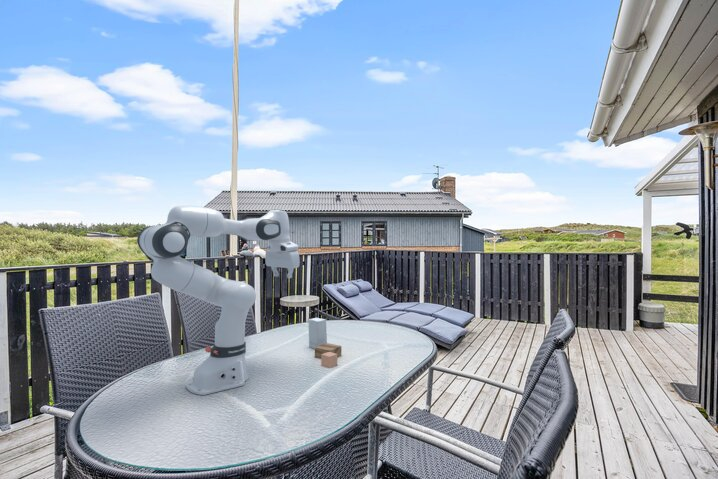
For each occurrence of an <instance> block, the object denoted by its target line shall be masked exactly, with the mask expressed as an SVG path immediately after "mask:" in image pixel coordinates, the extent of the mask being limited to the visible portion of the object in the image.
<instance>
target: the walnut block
mask: <svg viewBox="0 0 718 479" xmlns="http://www.w3.org/2000/svg"><path fill="white" fill-rule="evenodd" d="M327 352H332V353H335V354H337V359H338V358H340V357H342V345H339V344H333V343H328V342H327V343H325V344H322V345H320V346H317V347H315V349H314V358H315V359H319V360H321V354H324V353H327Z"/></svg>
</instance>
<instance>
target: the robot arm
mask: <svg viewBox="0 0 718 479" xmlns="http://www.w3.org/2000/svg"><path fill="white" fill-rule="evenodd" d="M290 231H291V230H290V220H289V215H288V213H287V212H286V210H283V209H274V208H273V209H269V210H268V211H267V213H266V214H264V215H262V216H261V217H259V218H258V217H257V218H254V217H253V218H251V217H248V218H243V219H241V220H236V219H230V218H225V216H224V215H223V213H222V211H219V210H216V209H213V208H209V207H206V206H205V207H204V206H198V205H197V206H196V205H177V206H174V207H172V208H171V209H170V210H169V213H168V214H167V220H166V222H165V223H164V224H158V225H157V224H156V225H149V226H146V227H145V228H144V229H142V230H141V231H140V232H139V234H138V235H137V238H136V240H137V242H136V243H137V246H138V248H139V250H140V251H141V252H142V254H144V256H146V258H147V260H148V261H150V262H153V264H152V266H151V270H150V275H151V277H152V279H153V281H156V282H157V283H158V284H160V285H162V286H164V287H166V288H168V289H171V290H174V291H175V292H179V293H180V294H184V295H186V296H190V297H193V298H196V299H198V300H200V301H203V302H206V303H209V304H211V305H213V306H216V307H220V308H221V312H220V316H219V319H218V321H216V323H215V325H214V344H213V345H212V347H211V346H206V347H205V348H204V351H205V352H207V353H210V354H209V356H208V357H206V359H205V360H204V361H203V362H202V363H200V364H199V365H198V366H197V367H196V368H195V370H194V371H193V376H192V380H190V381H188V382H186V385H185V388H186V390H188V391H189V392H191V393H192V394H196V395H200V396H205V395H210V394H213V393H217V392H221V391H227V390H231V389H234V388H238V387H243V386H244V385H245V383H246V382H247V381H248V380H249V373H248V369H247V365H246V351H247V349H246V348H247V345H246V342H247V341H246V340H245V339H246V338H245V337H246V336H245V334H246V320H247V316H248V313H249V310H250V309H251V307H253V306H254V304H255V302H256V300H257V299H256V298H257V293H256V289H255V288H254V287H253V286H252V285H251V284H248V283H247V282H244V281H238V280H233V279H229V278H226V277H223V276H220V275H219V274H217V273H215V272H213V271H212V270H211V269H208V268H205V267H204V266H202V265H201V266H200V265H199V264H196V263H193V262H191V261H189V260H186V259H185V258H182V256H180V255H182V254H183V253H184V252H185V251H186V250H187V247H188V244H189V240H190V238H191V237H196V238H197V237H198V238H212V237H213V238H215V237H219V236H220V235H233V236H237V237H239V238H241V240H244V241H247V242H254V241H257V242H265V241H269V245H267V248H266V251H265V255H264V256H265V257H264V260H265V266H266V267H271V268H270V269H271V271H272V273H273V277H279V276H280V273H279V271H278V270H277V269H278V268H282V269H283V268H284V269H287V271H288V273H287V274H286V278H287V279H292V278H293V273H294V269H298V268H299V267H300V263H301V261H300V253H299V251H298V250H299V245H298V244H297V243H294V242H293V241H291V236H290Z"/></svg>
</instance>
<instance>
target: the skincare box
mask: <svg viewBox="0 0 718 479" xmlns="http://www.w3.org/2000/svg"><path fill="white" fill-rule="evenodd" d="M327 333H328V332H327V319H326V318H319V317H314V318H309V319H308V345H309V346H308V347H309V349H313V350H315V347H317V346H320V345H322V344H325V343H328V341H327V340H328V338H327V336H328V334H327Z"/></svg>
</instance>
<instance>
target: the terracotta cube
mask: <svg viewBox="0 0 718 479" xmlns="http://www.w3.org/2000/svg"><path fill="white" fill-rule="evenodd" d="M320 362H321V364H320V365H321V366H322V367H325V368H327V369H330V368H333V367H336V365H337V366H338V358H337V354H335V353H332V352H327V353H324V354H321V359H320Z"/></svg>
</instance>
